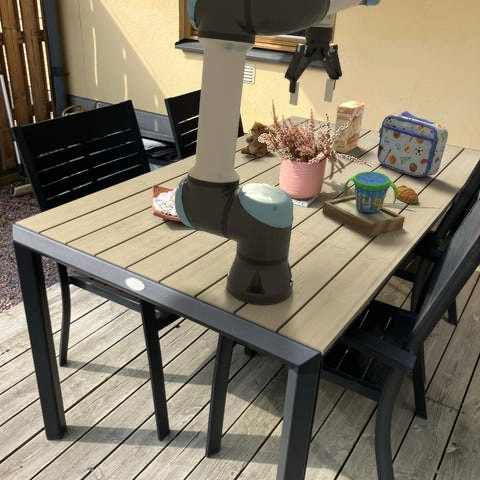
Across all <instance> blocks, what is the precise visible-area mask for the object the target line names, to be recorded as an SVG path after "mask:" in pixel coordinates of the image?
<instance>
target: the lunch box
mask: <svg viewBox="0 0 480 480" xmlns="http://www.w3.org/2000/svg"><path fill="white" fill-rule="evenodd" d="M380 126H381V127H380V128H379V130H378V133H379V136H378V137H379V141H378V142H379V143H378V148H377V156H376V157H377V160H378V162H379V163H380V164H381V165H383V166H384V167H386V168H389V169H392V170H394V171H397V172H399V173H401V174H406V175H409V176H413V177H416V178H424V177H427V176H434V175H436V174H437V173H438V172H439V170H440V167H441V163H442V160H443V156H444V153H445V148H446V144H447V142H448V138H449V133H448V130H447V128H446V127H445V126H443V125H441V124H439V123H437V122H433V121H429V120H427V119H425V118H421V117H417V116H415V115H413V114H411V112H409V111H403V112H401V114H389V115H387V116H386V117H385V118H384V119H383V121H382V123H381V125H380Z"/></svg>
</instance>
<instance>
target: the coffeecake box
mask: <svg viewBox="0 0 480 480" xmlns="http://www.w3.org/2000/svg"><path fill="white" fill-rule="evenodd" d="M365 105H366V103H364V102H361V101H354V100H349V101H347V102H344V103H342V104H339V105H337V110H336V116H335V118H336V119H335V124H334V130H333V131H334V132H333V135H334V134H335V133H336V131H337V130H338V129H339V128H340V127H341V126H343V125H344V124H346V123H347V122H348V121H349V120H350V118H351V117H352V118H351V120H350V122H349V124H348V128H347V129H345V130H344V131H342V132H341V133H340V135H339V136H338V138H337V139H336V140H335V142H334V144H333V143H332V144H333V146H332V145H331V148H332V147H333V148H334V150H335V152H339V153H343V154H347V153H349V152H350V151H352V150H353V149H355V148H357V147H358V145H359V141H360V133H361V129H362V128H361V127H362V121H363V116H364V110H365ZM334 150H333V151H334Z"/></svg>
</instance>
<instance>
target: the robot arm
mask: <svg viewBox="0 0 480 480" xmlns="http://www.w3.org/2000/svg"><path fill="white" fill-rule="evenodd" d="M186 2H187V3H186V7H187V8H186V9H187V15H188V17H189V18H188V20H189V22H190V25H191V26H192V27H193V28H194V29H196V30H197V37H196V38H197V41H198V42H199V43H200V44H201V46H202V48H203V59H202V60H203V61H202V70H201V71H202V73H201V86H200V95H199V96H200V98H199V99H200V101H199V112H198V121H197V122H198V123H197V125H198V126H197V136H196V149H195V151H196V152H195V162H194V165H193V166H192V167H191V168H189V169H188V170H187V175H185V177H183V178H182V179H180V181H179V183H178V184H177V186H178V188H176V190H175V194H174V209H175V213H176V216H177V218H178V219H179V221H181V222H182V224H184V225H185V226H187V227H190V228H193V230H196V231H199V232H204V233H208V234H211V235H214V236H218V237H221V238H225V239H227V240H231V241H234V242H236V249H235V250H236V251H235V257H234V260H233V261H232V265H231V266H230V268H229V271H228V272H227V275H226V288H227V291H228V292H229V293H230V294H231V296H232V297H234V298H236V299H238V300H240V301H242V302H245V303H248V304H253V305H259V306H260V305H263V306H264V305H274V304H279V303H281V302H284V301H285V300H287V299H288V298H290V296H291V295H292V293H293V287H294V279H293V276H292V270H291V266H290V261H289V255H290V252H289V251H290V246H291V239H292V238H291V237H292V229H293V223H294V201H293V199H292V197H291V196H290V195H289V194H288V192H287V191H285V190H284V189H282V188H280V187H277V186H275V185H271V184H268V183H258V182H250V183H246V184H243V186H242V187H240V179H241V176H240V174H239V173H238V172H237V170H236V169H235V165H236V164H235V162H236V153H237V144H238V135H239V125H240V124H239V123H240V116H241V107H242V96H243V89H244V88H243V86H244V79H245V70H246V69H245V67H246V60H247V53H248V52H250V51H251V49H253V48H254V47H255V46H256V43H255V42H256V37H257V36H259V37H277V36H282V35H288V34H293V33H296V32H300V31H303V30H305V35H304V39H305V40H306V41H305V44H304V43H303V44H302V43H297V44H296V46H295V50H294V53H293V56H292V58H291V61H290V62H289V65H288V67H287V69H286V72H285V74H284V75H283V76H284V77H283V78H284V79H286V80H288V81H289V85H288V86H289V87H288V92H289V102H288V103H289V105H292V106H296V107H297V106H298V100H299V91H300V83H301V82H300V81H298V80H299V79H300V78H301V77H302V75H303V73H304V72H305V71H306V69H307V68H308V66H309V65H310V64H311V63H313V62H321V63H322V65H323V68H324V70H325V72H326V74H327V76H328V78H326V81H325V88H324V89H325V91H324V98H323V101H324V102H328V103H332V102H333V97H334V96H333V95H334V91H335V89H336V82H337V81H339V79H340V78H342V76H343V72H342V67H341V62H340V57H339V52H338V51H339V46H338V45H339V44H337V43H336V44H335V43H332V40H333V35H334V34H333V33H334V28H333V27H332V26H333V25H334V24H335V17H336V13H339V12H342V11H345V10H347V9H348V10H349V9H350V8H353V7H357V6H364V7H365V6H366V7H368V6H373V7H375V6H378V5H379V4H380V3H381V2H382V0H187V1H186ZM330 42H331V43H330Z"/></svg>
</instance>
